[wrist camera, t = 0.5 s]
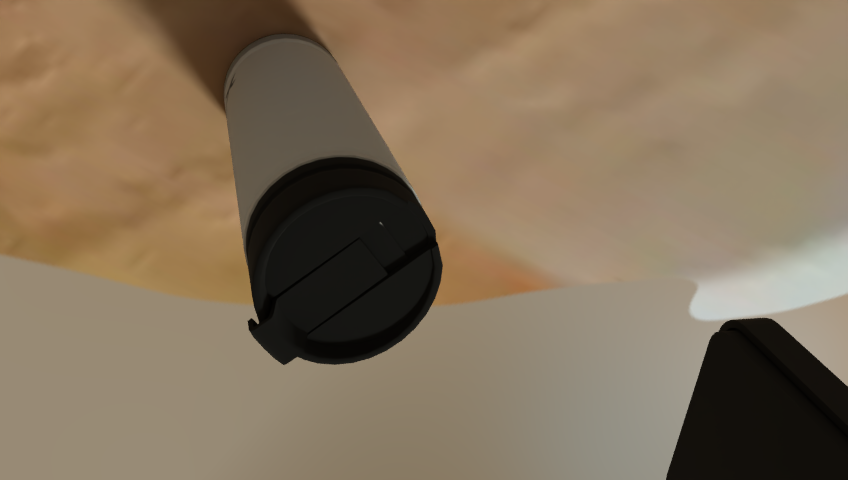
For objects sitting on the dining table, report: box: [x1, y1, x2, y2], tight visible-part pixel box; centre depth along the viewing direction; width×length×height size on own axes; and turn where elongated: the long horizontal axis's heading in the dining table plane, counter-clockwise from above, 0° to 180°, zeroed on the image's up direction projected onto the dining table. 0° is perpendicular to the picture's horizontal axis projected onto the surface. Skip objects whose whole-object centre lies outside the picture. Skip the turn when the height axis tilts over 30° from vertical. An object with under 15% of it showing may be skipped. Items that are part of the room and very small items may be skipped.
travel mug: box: [224, 34, 443, 365], centre depth 33 cm, size 6×7×20 cm
